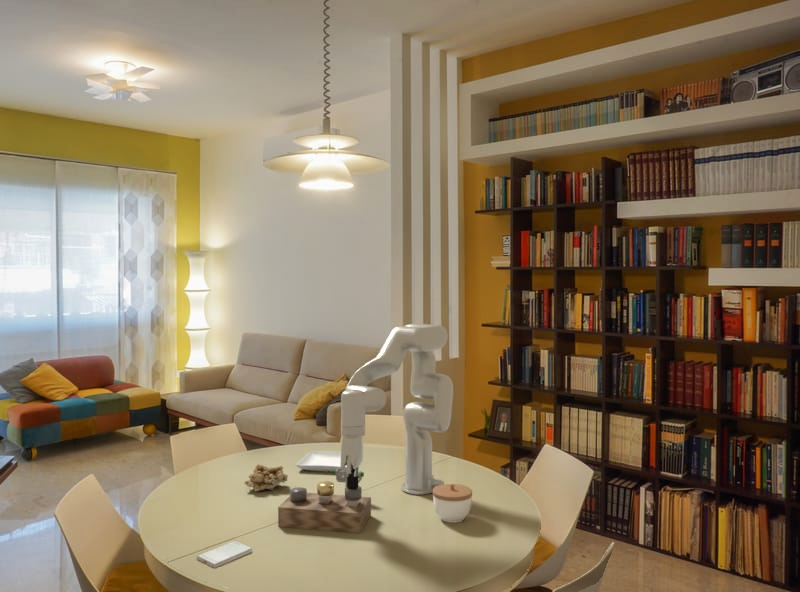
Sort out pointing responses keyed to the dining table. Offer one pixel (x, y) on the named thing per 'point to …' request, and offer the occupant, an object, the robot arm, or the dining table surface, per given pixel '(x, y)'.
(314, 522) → the knob panel
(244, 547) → the hard drive
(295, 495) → the knob
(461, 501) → the lidded bowl
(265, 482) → the mineral formation
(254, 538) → the dining table surface
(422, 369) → the robot arm
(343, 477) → the mechanical component
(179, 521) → the dining table surface
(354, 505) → the knob
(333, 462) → the salad plate
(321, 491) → the knob middle
